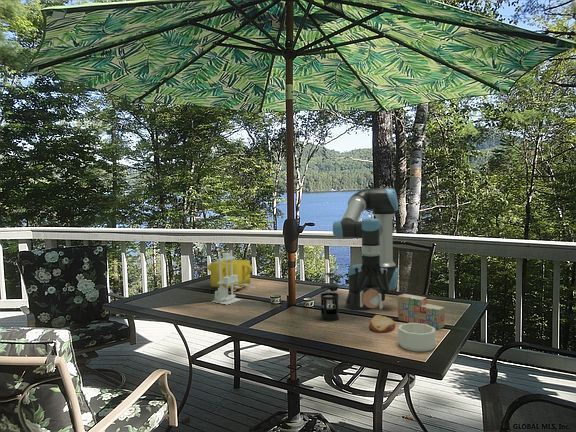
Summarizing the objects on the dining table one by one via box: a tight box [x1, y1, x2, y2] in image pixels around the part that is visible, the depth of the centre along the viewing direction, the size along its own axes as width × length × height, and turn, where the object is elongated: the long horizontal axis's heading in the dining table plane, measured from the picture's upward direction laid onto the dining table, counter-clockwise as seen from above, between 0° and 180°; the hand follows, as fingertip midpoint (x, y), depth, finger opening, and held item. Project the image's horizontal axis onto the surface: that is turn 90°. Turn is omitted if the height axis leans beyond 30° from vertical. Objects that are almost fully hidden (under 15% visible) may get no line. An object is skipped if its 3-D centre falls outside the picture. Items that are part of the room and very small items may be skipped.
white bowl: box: [397, 322, 436, 353], centre depth 173 cm, size 14×14×7 cm
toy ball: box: [362, 288, 380, 309], centre depth 182 cm, size 8×8×8 cm
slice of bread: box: [369, 314, 396, 334], centre depth 199 cm, size 18×18×4 cm
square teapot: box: [206, 257, 253, 290], centre depth 282 cm, size 35×30×21 cm
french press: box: [320, 272, 340, 322], centre depth 211 cm, size 12×9×23 cm
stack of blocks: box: [397, 293, 446, 330], centre depth 201 cm, size 21×6×12 cm, turn 43°
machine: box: [211, 249, 256, 306], centre depth 242 cm, size 29×12×30 cm, turn 55°
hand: (371, 307), depth 182 cm, fingers closed on toy ball, 8 cm apart
